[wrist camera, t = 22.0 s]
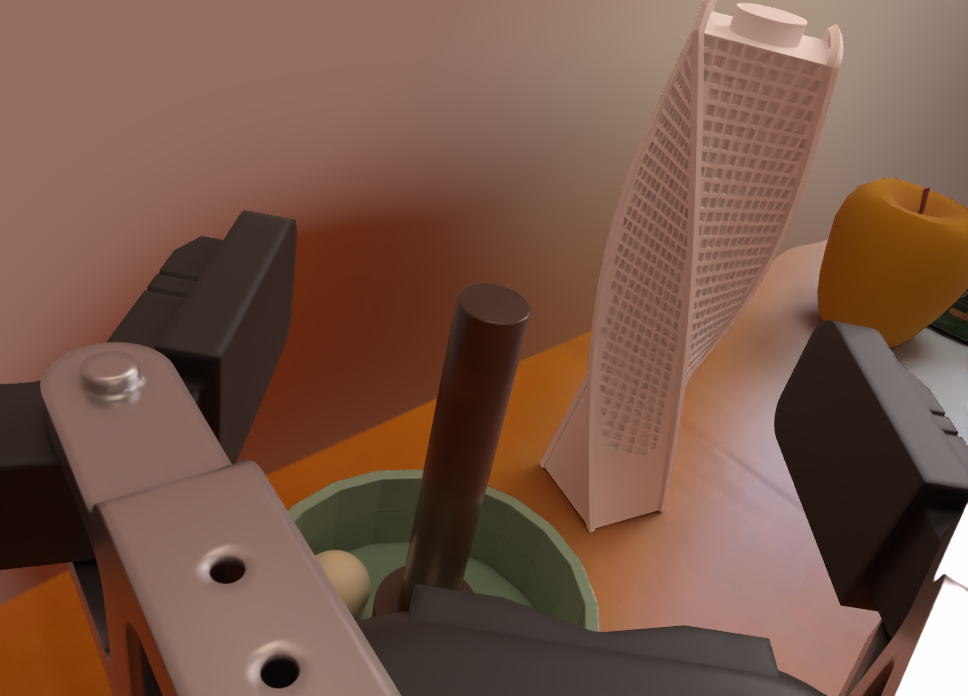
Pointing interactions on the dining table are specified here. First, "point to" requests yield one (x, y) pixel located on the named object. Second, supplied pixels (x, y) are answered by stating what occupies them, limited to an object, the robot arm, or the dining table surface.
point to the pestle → (461, 442)
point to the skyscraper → (690, 245)
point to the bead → (347, 578)
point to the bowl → (494, 553)
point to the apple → (894, 259)
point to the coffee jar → (955, 318)
